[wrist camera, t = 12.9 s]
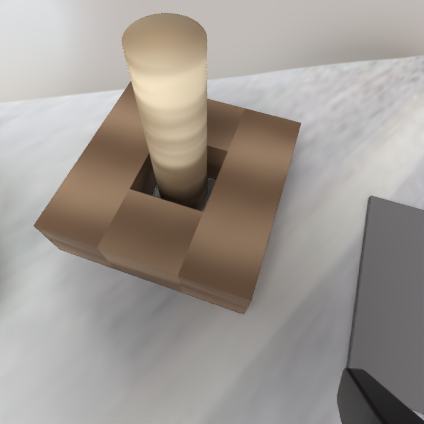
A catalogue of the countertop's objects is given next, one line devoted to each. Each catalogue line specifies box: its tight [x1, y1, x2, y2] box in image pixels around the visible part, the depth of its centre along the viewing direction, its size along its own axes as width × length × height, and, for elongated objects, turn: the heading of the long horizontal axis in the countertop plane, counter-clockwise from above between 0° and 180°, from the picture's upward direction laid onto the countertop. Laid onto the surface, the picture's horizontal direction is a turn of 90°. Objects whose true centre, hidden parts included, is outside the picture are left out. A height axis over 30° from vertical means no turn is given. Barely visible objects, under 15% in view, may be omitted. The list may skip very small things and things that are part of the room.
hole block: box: [34, 82, 301, 314], centre depth 24 cm, size 14×14×4 cm
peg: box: [122, 13, 207, 211], centre depth 20 cm, size 4×4×14 cm
